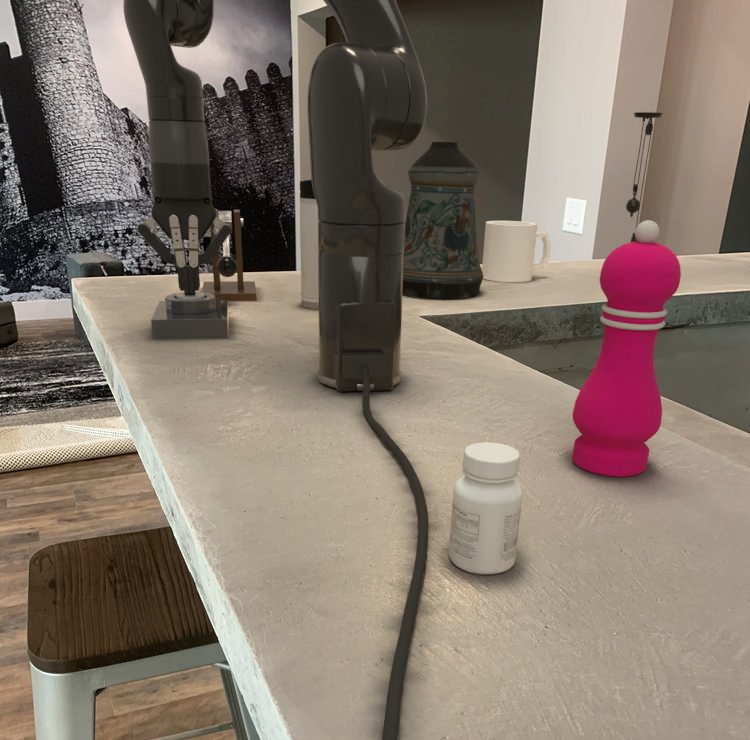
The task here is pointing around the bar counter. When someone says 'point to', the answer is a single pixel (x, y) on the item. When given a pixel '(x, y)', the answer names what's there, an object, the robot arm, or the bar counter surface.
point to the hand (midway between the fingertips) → (190, 293)
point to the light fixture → (633, 203)
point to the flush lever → (226, 249)
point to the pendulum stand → (237, 288)
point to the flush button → (190, 296)
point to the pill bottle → (486, 509)
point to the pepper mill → (626, 359)
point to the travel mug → (309, 246)
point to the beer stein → (441, 226)
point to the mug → (512, 251)
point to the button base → (190, 318)
